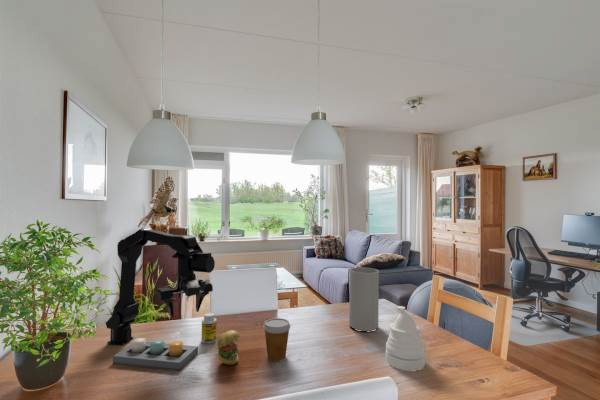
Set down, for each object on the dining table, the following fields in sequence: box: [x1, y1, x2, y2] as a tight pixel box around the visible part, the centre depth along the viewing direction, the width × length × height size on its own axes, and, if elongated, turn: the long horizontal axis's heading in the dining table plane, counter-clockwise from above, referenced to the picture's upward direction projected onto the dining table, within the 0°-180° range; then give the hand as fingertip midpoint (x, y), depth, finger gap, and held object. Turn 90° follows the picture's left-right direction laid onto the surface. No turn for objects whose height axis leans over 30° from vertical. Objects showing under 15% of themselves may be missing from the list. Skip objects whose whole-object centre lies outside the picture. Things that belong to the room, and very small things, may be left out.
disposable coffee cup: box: [262, 317, 292, 362], centre depth 112 cm, size 10×10×12 cm
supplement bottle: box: [201, 312, 218, 344], centre depth 125 cm, size 6×6×10 cm
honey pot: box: [385, 305, 426, 371], centre depth 110 cm, size 13×13×18 cm
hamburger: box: [216, 326, 240, 366], centre depth 108 cm, size 8×7×12 cm
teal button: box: [149, 339, 165, 355], centre depth 110 cm, size 4×4×3 cm
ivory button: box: [131, 337, 147, 353], centre depth 111 cm, size 4×4×3 cm
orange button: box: [168, 340, 184, 356], centre depth 109 cm, size 4×4×3 cm
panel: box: [112, 341, 199, 372], centre depth 110 cm, size 24×12×3 cm, turn 81°
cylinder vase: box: [348, 266, 380, 331], centre depth 141 cm, size 12×12×25 cm
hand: (185, 314), depth 115 cm, fingers open, 9 cm apart
